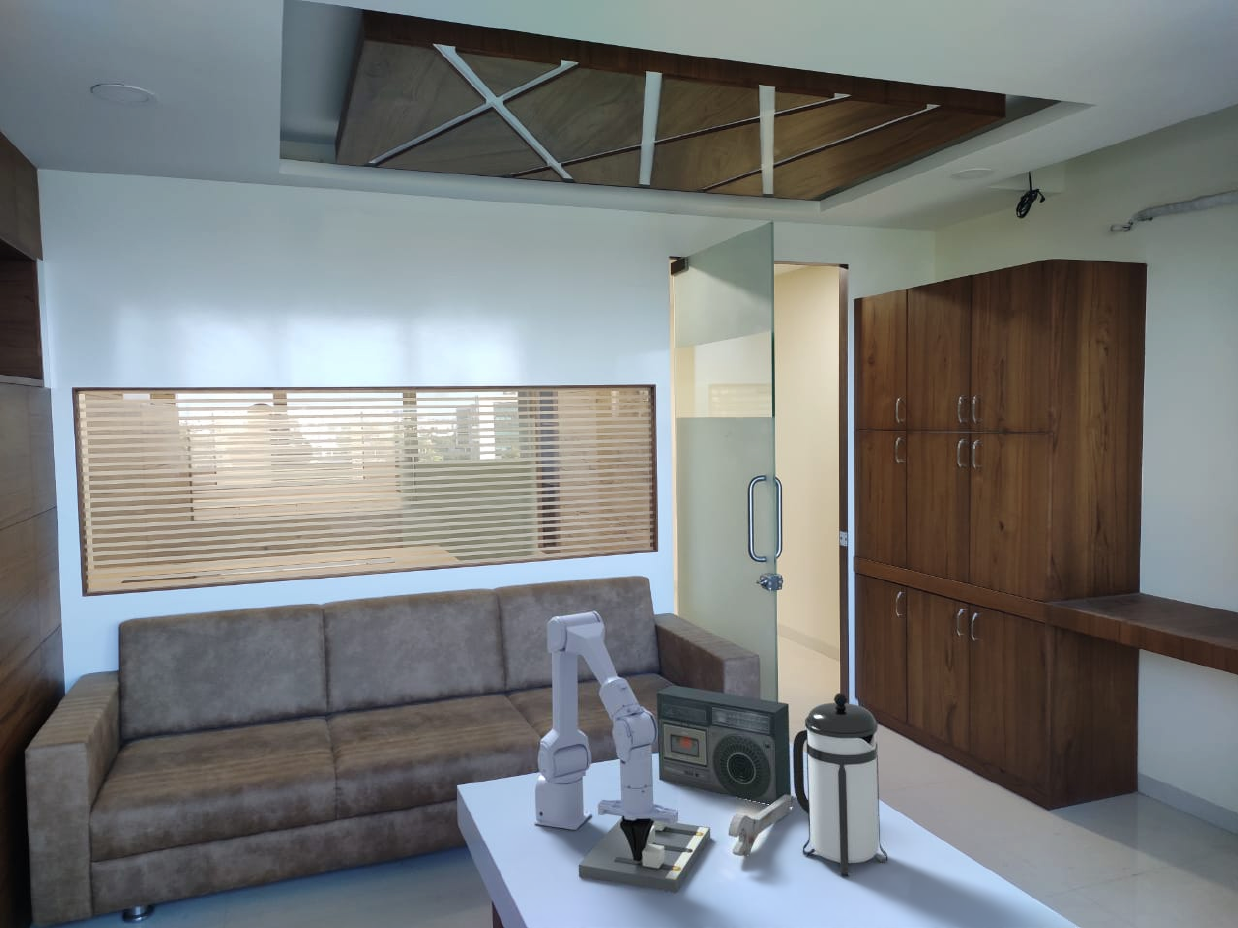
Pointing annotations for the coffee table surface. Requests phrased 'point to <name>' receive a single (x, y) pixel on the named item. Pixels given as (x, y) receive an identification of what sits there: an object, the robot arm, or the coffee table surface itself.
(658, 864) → the switch tab
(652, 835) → the white cube
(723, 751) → the cassette player
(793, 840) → the coffee table surface
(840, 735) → the coffee press
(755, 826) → the wrench
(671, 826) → the switch board
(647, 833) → the robot arm
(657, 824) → the switch tab
